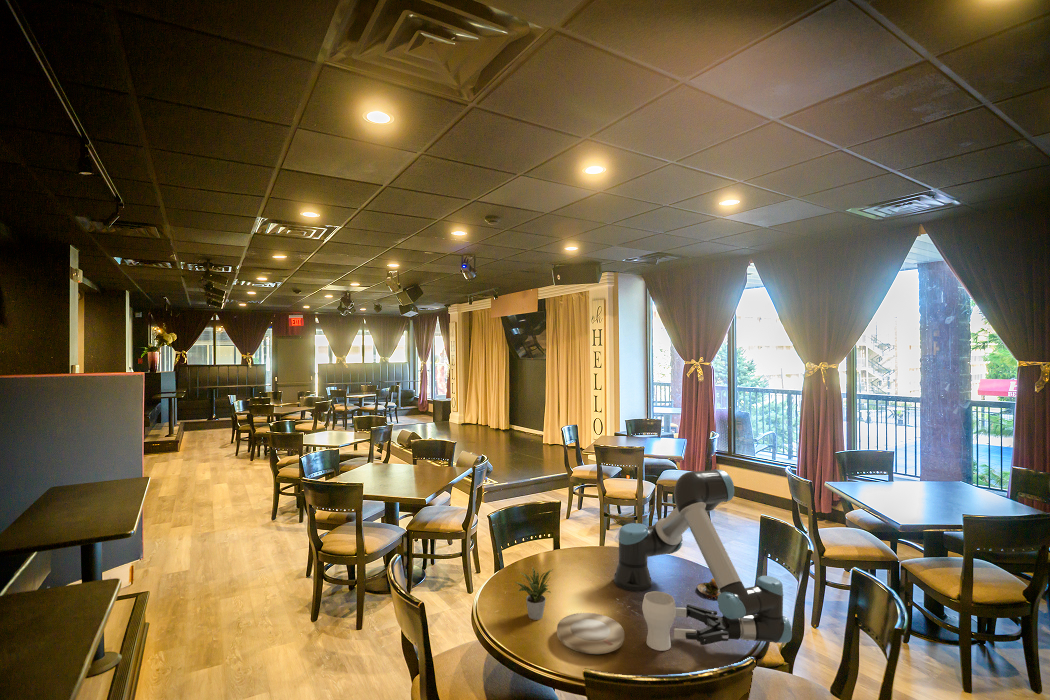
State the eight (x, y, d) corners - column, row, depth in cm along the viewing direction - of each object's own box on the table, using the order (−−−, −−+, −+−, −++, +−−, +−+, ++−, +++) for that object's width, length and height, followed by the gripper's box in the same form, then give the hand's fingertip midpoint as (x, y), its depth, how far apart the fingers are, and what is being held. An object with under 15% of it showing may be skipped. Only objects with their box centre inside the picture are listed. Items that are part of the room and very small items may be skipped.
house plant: (536, 600, 193) (537, 557, 193) (564, 614, 183) (564, 569, 183) (509, 613, 183) (510, 568, 183) (536, 629, 173) (537, 581, 173)
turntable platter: (544, 627, 170) (544, 623, 170) (594, 611, 181) (594, 606, 181) (584, 661, 151) (585, 656, 151) (638, 641, 163) (638, 636, 163)
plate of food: (704, 583, 210) (704, 565, 210) (732, 593, 202) (733, 574, 202) (691, 593, 201) (691, 574, 202) (720, 603, 193) (720, 584, 193)
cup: (677, 655, 158) (677, 607, 159) (642, 651, 161) (642, 603, 161) (674, 637, 169) (674, 592, 169) (641, 633, 171) (642, 588, 171)
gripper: (751, 661, 149) (677, 656, 151) (726, 618, 174) (663, 614, 176) (751, 636, 149) (678, 630, 151) (726, 596, 174) (663, 592, 176)
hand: (670, 621), depth 164 cm, fingers open, 13 cm apart
